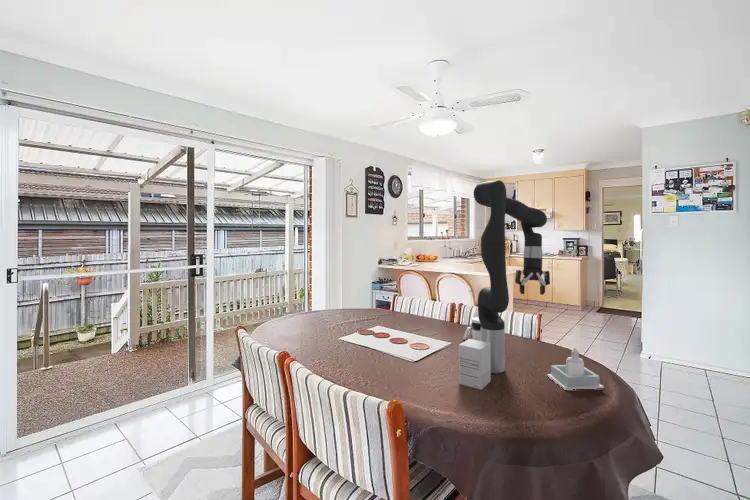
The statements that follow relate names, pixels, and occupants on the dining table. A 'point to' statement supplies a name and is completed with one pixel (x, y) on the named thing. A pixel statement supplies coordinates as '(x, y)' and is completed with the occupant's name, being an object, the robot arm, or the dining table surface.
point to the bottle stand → (574, 379)
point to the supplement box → (474, 363)
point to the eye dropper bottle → (574, 364)
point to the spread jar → (474, 330)
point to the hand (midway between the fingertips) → (532, 294)
